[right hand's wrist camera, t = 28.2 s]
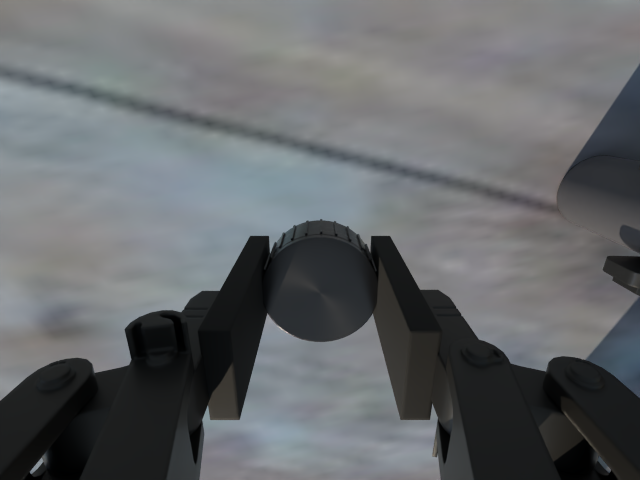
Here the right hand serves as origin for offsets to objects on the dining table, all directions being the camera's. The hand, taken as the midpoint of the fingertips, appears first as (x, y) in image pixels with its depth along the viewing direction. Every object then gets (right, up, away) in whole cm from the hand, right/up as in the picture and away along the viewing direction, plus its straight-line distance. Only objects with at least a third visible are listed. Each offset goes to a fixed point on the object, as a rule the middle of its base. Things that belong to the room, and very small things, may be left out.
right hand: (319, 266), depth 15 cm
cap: (0, -1, -2) cm, 2 cm away
